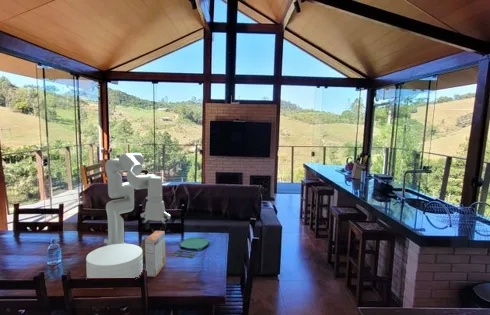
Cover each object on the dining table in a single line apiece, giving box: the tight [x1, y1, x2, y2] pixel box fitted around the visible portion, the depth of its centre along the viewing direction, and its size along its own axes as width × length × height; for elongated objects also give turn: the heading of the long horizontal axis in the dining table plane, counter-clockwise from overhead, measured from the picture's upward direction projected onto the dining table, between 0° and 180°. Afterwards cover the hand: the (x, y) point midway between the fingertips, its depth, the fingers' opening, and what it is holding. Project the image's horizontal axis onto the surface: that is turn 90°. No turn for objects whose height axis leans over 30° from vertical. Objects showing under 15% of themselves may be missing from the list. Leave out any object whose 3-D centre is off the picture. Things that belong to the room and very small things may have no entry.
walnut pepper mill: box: [140, 236, 148, 263], centre depth 182 cm, size 5×5×14 cm
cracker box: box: [145, 230, 166, 278], centre depth 168 cm, size 14×6×21 cm, turn 173°
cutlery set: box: [171, 236, 210, 259], centre depth 202 cm, size 20×30×2 cm, turn 163°
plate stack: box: [85, 243, 144, 279], centre depth 165 cm, size 28×28×12 cm
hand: (155, 229), depth 166 cm, fingers open, 9 cm apart
